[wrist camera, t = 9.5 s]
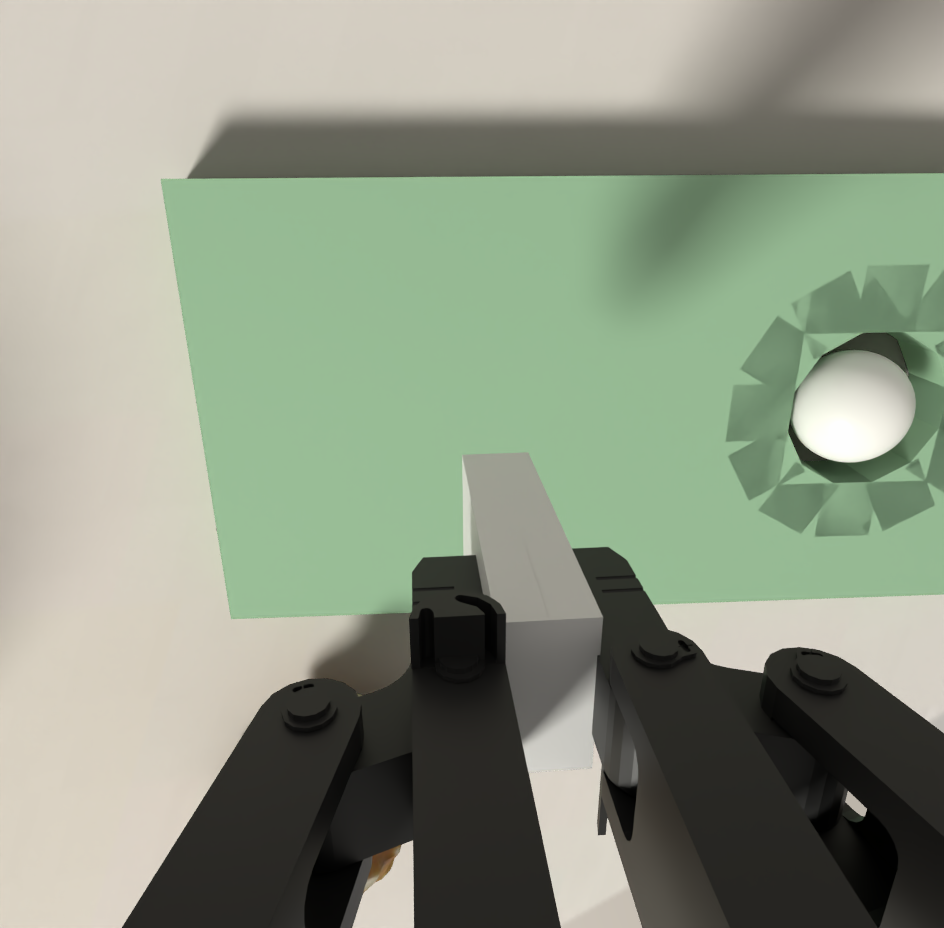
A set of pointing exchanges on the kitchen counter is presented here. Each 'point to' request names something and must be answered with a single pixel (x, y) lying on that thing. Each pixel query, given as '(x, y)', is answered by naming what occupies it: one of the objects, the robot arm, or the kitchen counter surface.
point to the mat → (557, 375)
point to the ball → (853, 406)
